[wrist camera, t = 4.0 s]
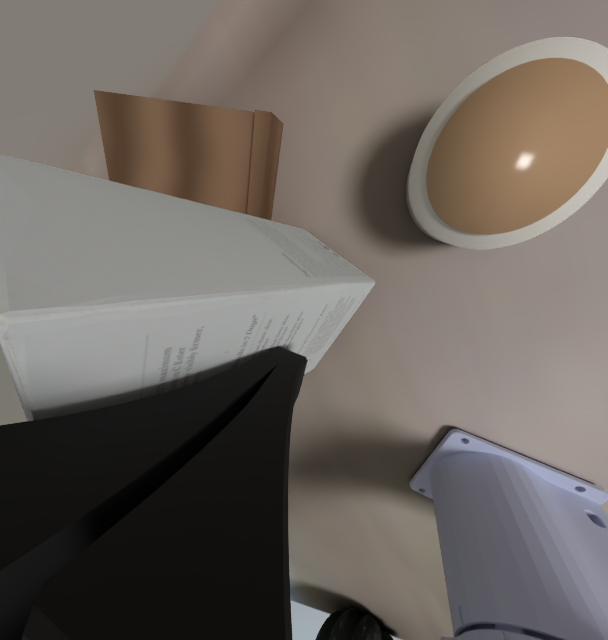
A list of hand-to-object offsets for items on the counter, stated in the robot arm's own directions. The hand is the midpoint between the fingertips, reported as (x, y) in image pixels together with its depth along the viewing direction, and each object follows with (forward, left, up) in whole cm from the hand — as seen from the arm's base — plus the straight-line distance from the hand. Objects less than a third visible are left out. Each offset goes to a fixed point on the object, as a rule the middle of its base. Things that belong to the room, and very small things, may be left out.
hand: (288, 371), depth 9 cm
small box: (+2, 0, -8) cm, 8 cm away
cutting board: (+13, 0, -8) cm, 16 cm away
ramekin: (-5, -9, -8) cm, 13 cm away
